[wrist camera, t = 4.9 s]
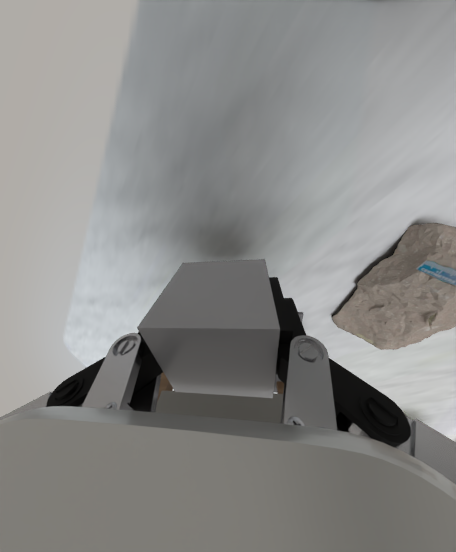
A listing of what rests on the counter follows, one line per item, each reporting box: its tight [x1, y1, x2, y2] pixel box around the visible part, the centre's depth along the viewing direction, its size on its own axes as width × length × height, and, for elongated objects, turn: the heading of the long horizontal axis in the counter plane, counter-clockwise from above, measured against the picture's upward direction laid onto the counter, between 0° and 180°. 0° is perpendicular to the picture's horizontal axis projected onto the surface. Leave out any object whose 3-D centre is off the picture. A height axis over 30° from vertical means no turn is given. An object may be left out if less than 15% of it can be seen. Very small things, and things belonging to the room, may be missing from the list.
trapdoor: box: [156, 391, 283, 423], centre depth 16 cm, size 17×13×3 cm
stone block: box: [137, 259, 280, 398], centre depth 9 cm, size 5×5×5 cm
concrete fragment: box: [332, 223, 456, 349], centre depth 16 cm, size 7×14×6 cm, turn 160°
